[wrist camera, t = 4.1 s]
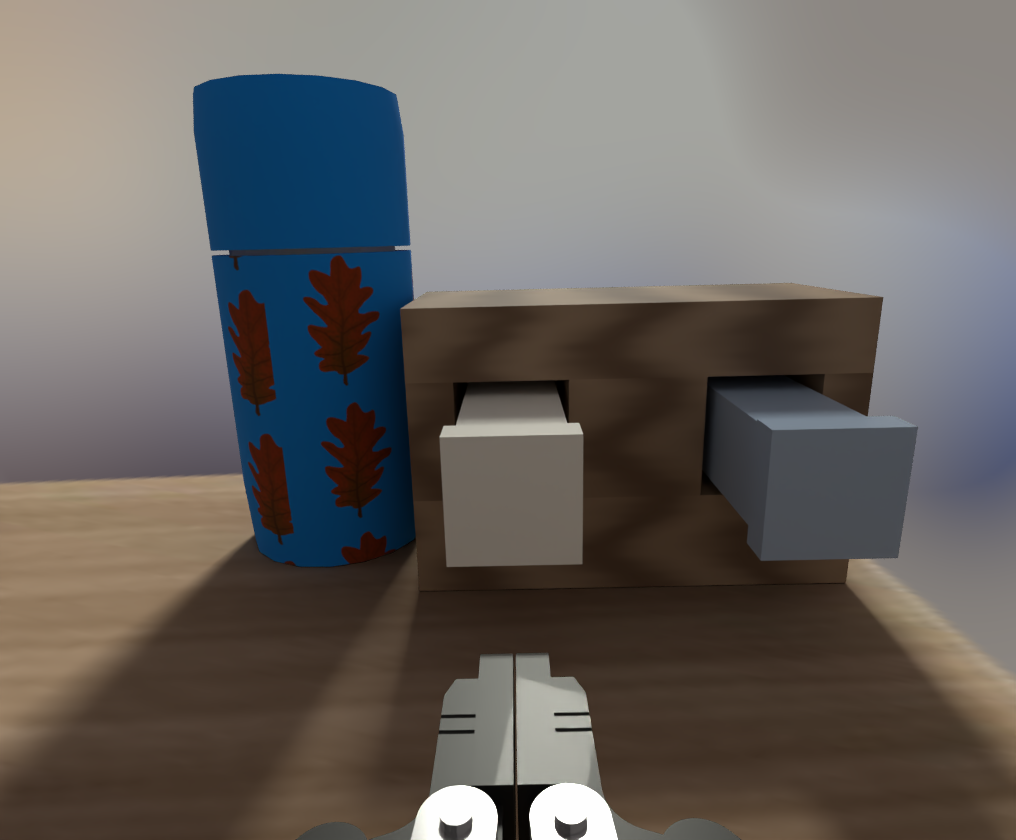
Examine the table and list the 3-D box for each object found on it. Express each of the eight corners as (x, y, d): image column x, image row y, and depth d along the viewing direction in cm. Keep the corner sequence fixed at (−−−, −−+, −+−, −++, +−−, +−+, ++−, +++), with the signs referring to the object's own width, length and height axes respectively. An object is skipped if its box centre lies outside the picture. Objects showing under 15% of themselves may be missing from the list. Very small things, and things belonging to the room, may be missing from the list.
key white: (446, 566, 25) (439, 437, 23) (466, 465, 36) (462, 373, 34) (582, 564, 25) (583, 434, 23) (560, 463, 36) (559, 371, 34)
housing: (419, 591, 33) (400, 308, 29) (439, 512, 43) (427, 291, 39) (845, 582, 33) (883, 297, 29) (770, 505, 43) (791, 283, 39)
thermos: (452, 542, 39) (429, 84, 32) (265, 587, 34) (191, 63, 27) (397, 484, 48) (370, 121, 41) (245, 514, 44) (186, 110, 37)
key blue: (760, 560, 25) (772, 430, 23) (683, 461, 36) (687, 368, 34) (898, 558, 24) (917, 426, 23) (777, 459, 36) (785, 366, 34)
